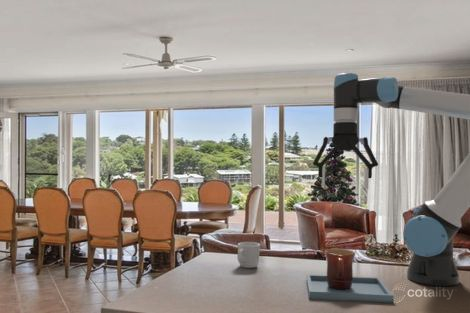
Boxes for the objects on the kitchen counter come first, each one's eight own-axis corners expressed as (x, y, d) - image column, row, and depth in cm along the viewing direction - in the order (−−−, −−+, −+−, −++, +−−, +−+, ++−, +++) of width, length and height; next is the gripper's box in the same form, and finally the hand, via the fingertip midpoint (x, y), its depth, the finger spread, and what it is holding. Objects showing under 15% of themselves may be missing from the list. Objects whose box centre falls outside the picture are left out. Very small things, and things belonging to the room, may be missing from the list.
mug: (324, 282, 134) (324, 248, 134) (354, 284, 133) (354, 249, 133) (324, 293, 123) (324, 256, 123) (356, 295, 121) (357, 258, 121)
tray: (379, 284, 135) (379, 277, 135) (393, 303, 117) (393, 295, 117) (306, 280, 138) (306, 274, 138) (309, 298, 120) (309, 291, 120)
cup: (248, 272, 147) (249, 248, 147) (228, 268, 151) (228, 245, 151) (264, 266, 156) (264, 243, 156) (244, 262, 160) (245, 240, 161)
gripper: (382, 123, 145) (382, 188, 145) (305, 123, 148) (304, 186, 148) (388, 121, 137) (387, 189, 137) (306, 121, 140) (305, 188, 140)
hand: (344, 188), depth 142 cm, fingers open, 13 cm apart
